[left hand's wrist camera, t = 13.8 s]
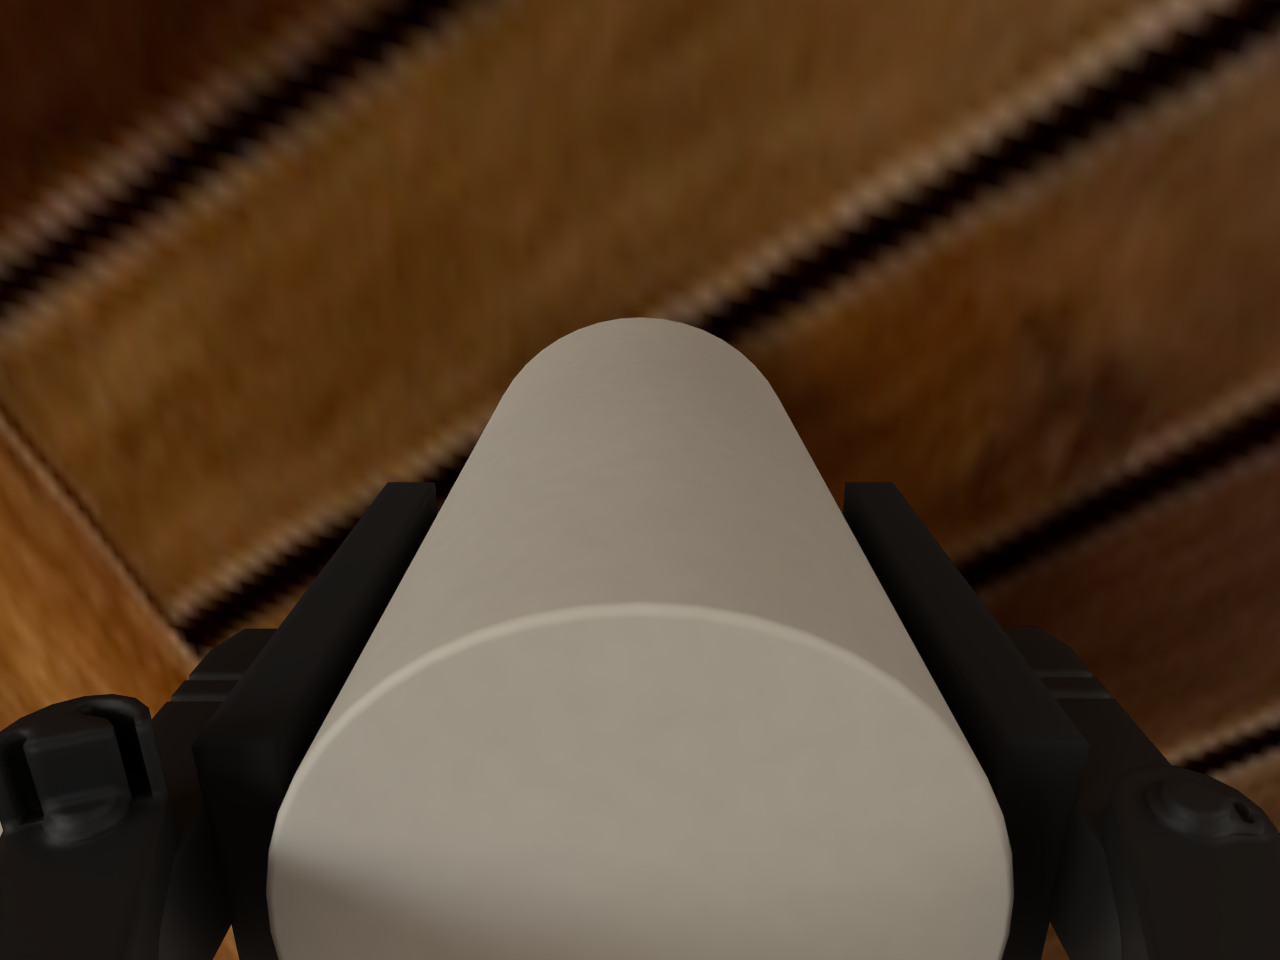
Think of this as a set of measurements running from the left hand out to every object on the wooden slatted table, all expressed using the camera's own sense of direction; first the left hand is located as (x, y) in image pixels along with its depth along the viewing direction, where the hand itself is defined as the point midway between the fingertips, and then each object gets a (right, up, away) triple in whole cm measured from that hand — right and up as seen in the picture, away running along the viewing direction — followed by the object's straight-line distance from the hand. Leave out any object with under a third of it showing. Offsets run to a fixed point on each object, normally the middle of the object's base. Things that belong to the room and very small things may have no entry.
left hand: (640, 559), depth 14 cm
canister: (0, +1, +4) cm, 5 cm away
